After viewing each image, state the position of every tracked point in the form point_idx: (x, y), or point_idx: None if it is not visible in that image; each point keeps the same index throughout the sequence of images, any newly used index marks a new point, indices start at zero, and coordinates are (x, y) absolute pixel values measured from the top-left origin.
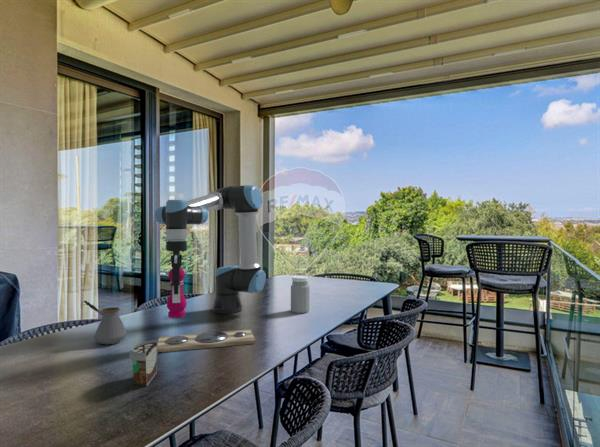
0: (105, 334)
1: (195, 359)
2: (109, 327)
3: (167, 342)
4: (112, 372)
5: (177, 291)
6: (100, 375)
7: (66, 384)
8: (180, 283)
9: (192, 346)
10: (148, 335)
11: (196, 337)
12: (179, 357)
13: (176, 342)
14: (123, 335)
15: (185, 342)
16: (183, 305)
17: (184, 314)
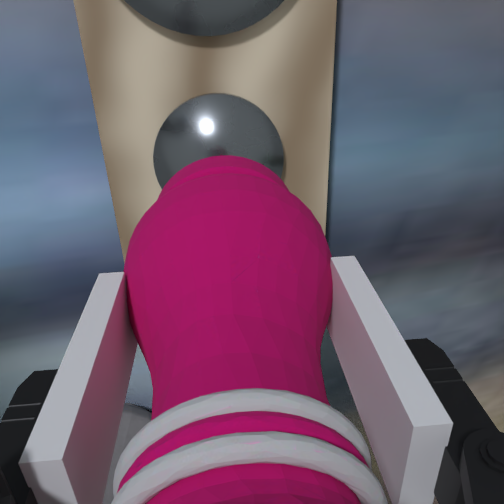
0: None
1: (492, 28)
2: None
3: None
4: (470, 346)
5: (450, 373)
6: (478, 371)
7: (501, 428)
8: (353, 443)
9: (331, 56)
10: (30, 318)
11: (207, 33)
12: (424, 121)
13: (279, 160)
14: (135, 416)
15: (262, 106)
16: (304, 206)
17: (256, 164)
